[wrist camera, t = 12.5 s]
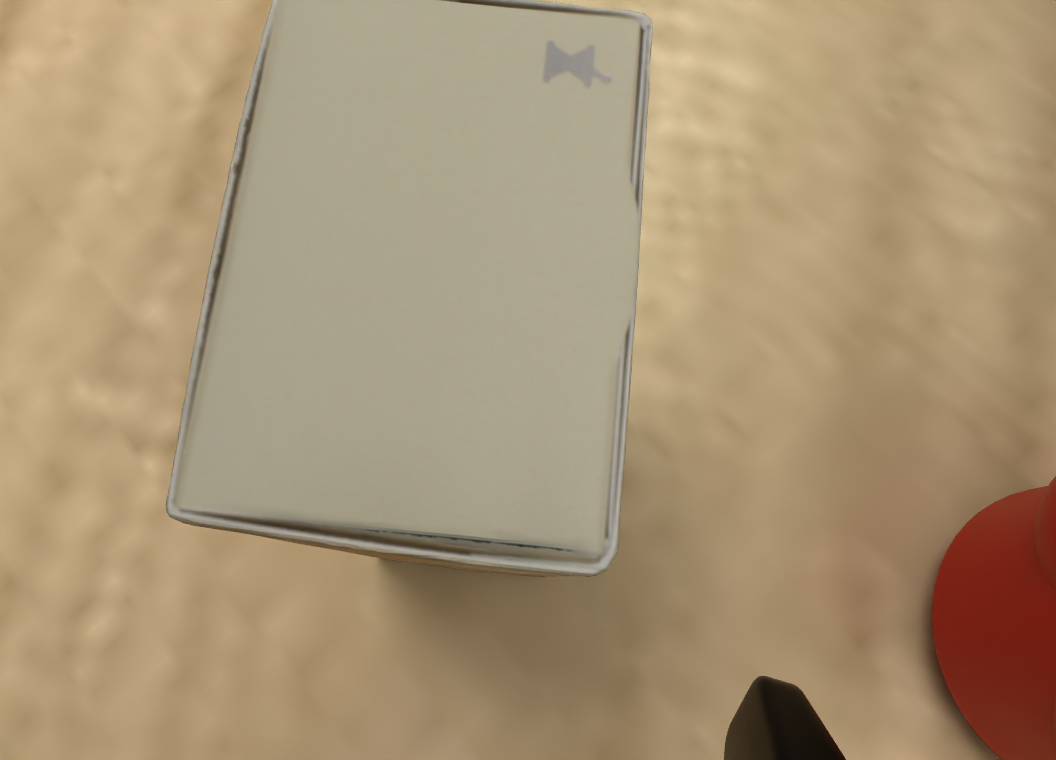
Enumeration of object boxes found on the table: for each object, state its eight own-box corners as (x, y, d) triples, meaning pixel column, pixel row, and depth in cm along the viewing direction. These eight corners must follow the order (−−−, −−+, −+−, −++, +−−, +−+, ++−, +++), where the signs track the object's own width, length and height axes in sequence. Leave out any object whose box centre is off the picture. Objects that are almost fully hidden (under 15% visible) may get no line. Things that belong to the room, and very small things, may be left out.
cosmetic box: (407, 320, 20) (272, -60, 9) (572, 338, 20) (663, -20, 9) (368, 572, 19) (132, 527, 7) (549, 591, 19) (623, 579, 7)
